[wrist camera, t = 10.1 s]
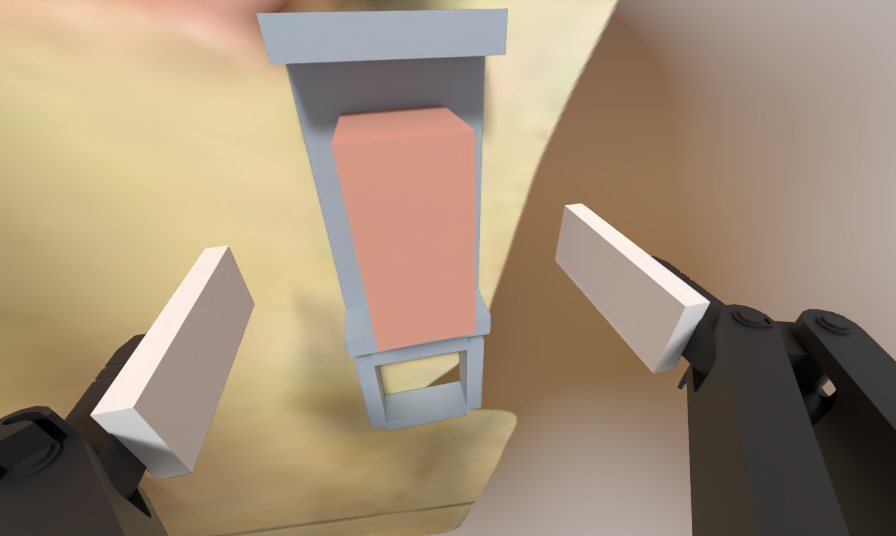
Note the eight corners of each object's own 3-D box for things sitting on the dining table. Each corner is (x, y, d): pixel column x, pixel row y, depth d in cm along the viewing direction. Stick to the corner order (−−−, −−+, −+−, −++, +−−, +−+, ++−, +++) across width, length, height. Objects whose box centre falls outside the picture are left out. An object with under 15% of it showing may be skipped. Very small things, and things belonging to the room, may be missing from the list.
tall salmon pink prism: (340, 113, 17) (331, 144, 12) (442, 104, 17) (475, 130, 12) (374, 282, 22) (378, 351, 17) (451, 270, 23) (475, 333, 18)
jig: (277, 18, 15) (256, 13, 12) (481, 14, 16) (507, 8, 13) (371, 407, 30) (372, 446, 27) (473, 387, 31) (484, 422, 28)
